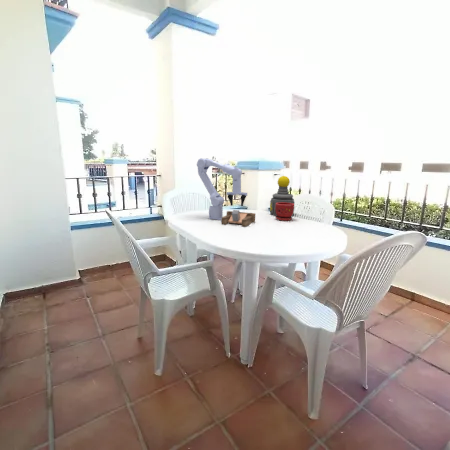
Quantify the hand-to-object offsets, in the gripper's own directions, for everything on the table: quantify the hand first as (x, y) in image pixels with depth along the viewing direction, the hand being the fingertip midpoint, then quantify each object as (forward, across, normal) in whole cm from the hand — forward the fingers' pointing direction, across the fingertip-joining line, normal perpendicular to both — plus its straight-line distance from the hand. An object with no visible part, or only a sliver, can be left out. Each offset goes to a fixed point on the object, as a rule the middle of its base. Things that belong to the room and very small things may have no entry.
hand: (236, 205), depth 191 cm
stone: (+8, +3, -10) cm, 13 cm away
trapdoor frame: (+10, +3, -8) cm, 14 cm away
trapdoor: (+8, +3, -7) cm, 11 cm away
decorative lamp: (+11, +25, +35) cm, 45 cm away
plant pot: (+12, +30, +17) cm, 36 cm away
